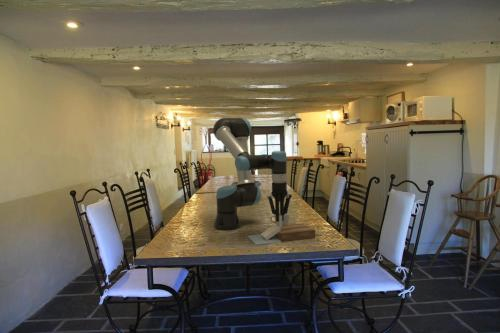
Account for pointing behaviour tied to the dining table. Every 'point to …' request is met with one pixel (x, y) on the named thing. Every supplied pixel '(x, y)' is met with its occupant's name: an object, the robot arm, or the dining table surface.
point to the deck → (295, 232)
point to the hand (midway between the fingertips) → (279, 227)
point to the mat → (260, 240)
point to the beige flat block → (271, 232)
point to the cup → (285, 222)
